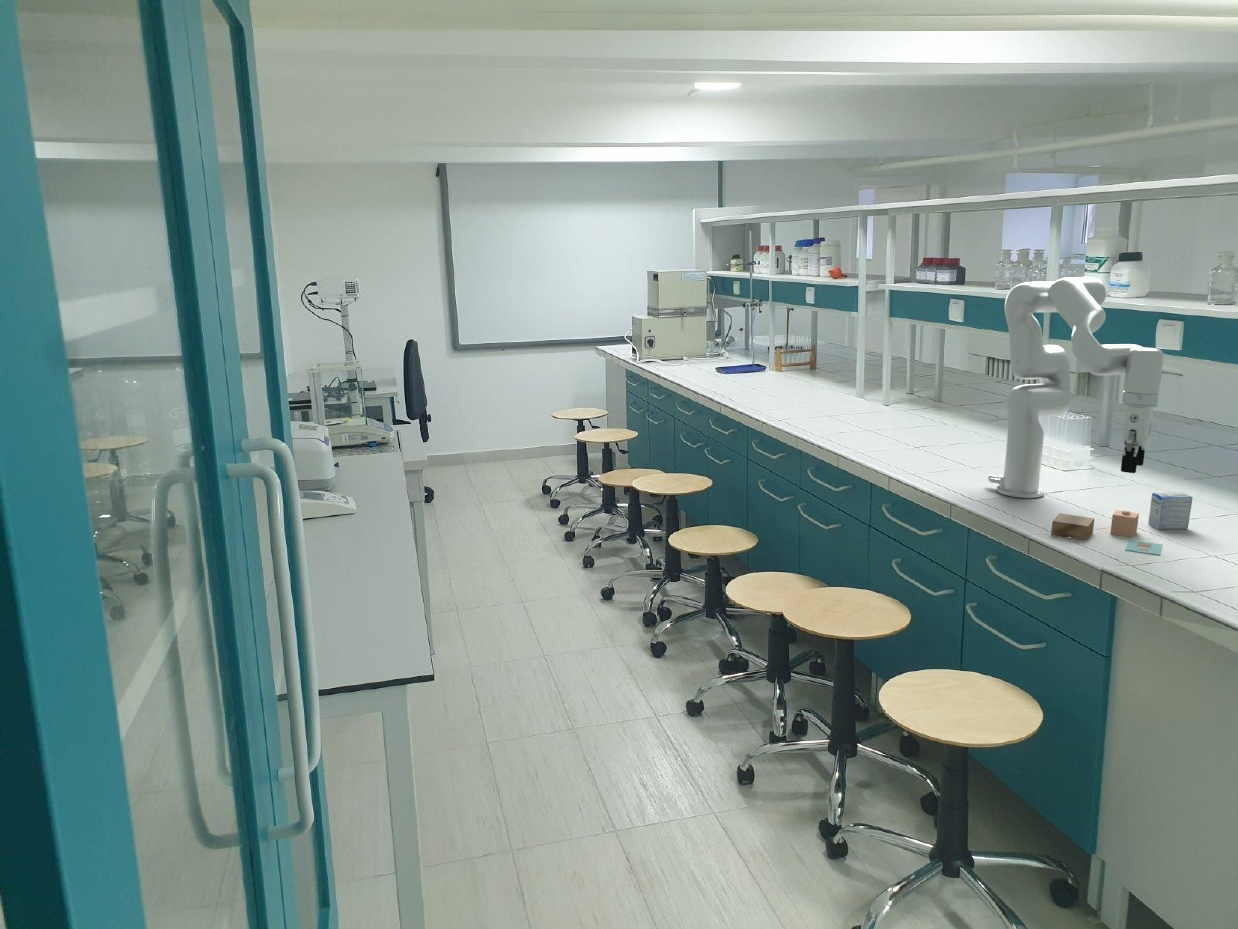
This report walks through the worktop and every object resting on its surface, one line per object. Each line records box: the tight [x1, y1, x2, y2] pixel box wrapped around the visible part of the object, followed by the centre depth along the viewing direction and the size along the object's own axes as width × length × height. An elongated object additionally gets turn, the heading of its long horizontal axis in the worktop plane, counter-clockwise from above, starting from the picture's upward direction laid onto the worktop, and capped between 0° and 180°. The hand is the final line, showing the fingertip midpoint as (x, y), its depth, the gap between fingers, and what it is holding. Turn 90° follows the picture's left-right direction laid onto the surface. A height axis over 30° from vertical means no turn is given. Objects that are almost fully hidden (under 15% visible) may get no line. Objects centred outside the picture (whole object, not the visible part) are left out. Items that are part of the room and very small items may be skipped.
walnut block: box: [1050, 513, 1095, 542], centre depth 227 cm, size 8×8×4 cm
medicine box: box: [1147, 491, 1193, 530], centre depth 231 cm, size 8×4×9 cm, turn 92°
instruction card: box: [1124, 539, 1163, 556], centre depth 217 cm, size 7×9×1 cm
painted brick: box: [1109, 509, 1140, 538], centre depth 227 cm, size 5×5×6 cm
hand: (1131, 468), depth 224 cm, fingers open, 9 cm apart
